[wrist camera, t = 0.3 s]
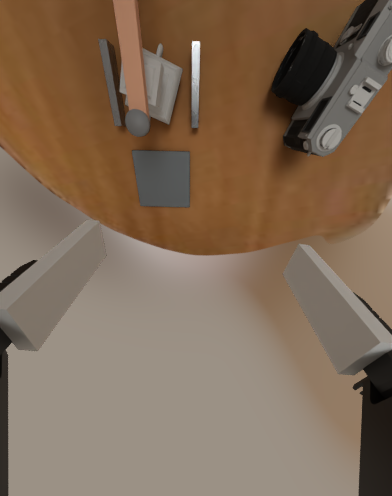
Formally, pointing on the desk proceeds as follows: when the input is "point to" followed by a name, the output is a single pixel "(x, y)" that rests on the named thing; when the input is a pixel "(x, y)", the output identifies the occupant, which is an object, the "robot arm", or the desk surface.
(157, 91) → the stamp
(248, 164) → the desk surface
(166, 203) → the pad
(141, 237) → the desk surface
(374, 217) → the desk surface
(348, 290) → the robot arm
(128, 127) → the ball-knob lever
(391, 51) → the camera
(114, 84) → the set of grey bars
